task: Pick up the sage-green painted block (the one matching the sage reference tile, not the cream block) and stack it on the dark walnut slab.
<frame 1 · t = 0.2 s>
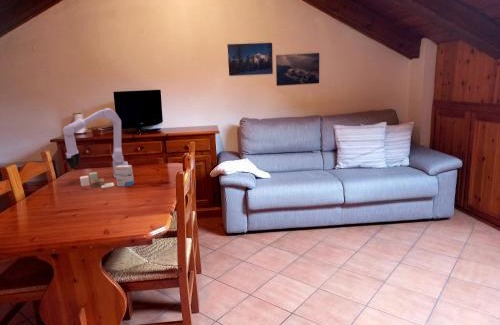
hand: (75, 166, 212), 10 cm above the table, fingers open, 7 cm apart
ink box: (126, 185, 204), on the table
walnut slab: (98, 185, 206), on the table
reference tile: (107, 185, 204), on the table
sage block: (94, 180, 216), on the table
cream block: (85, 184, 209), on the table
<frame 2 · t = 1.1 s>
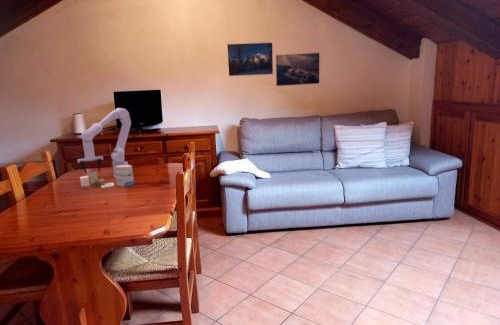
hand: (92, 172, 215), 6 cm above the table, fingers open, 7 cm apart
nothing on the table moved.
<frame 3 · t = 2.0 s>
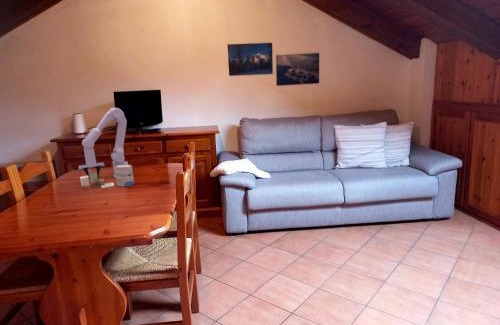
hand: (93, 178, 216), 1 cm above the table, fingers closed on sage block, 4 cm apart
sage block: (94, 180, 216), on the table, touching gripper
everything else where it was.
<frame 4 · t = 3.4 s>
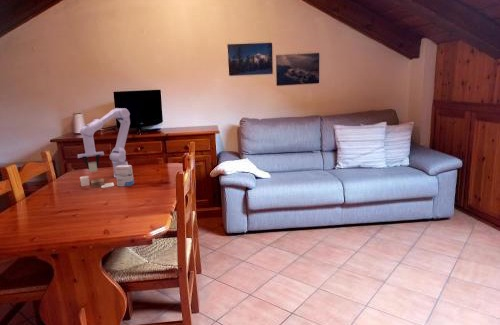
hand: (93, 167, 210), 9 cm above the table, fingers closed on sage block, 4 cm apart
sage block: (93, 170, 210), point 8 cm above the table, touching gripper
everything else where it was.
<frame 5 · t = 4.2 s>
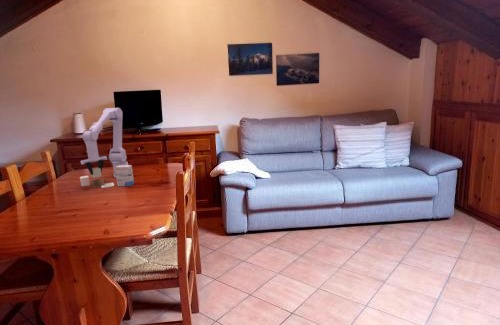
hand: (96, 173, 204), 7 cm above the table, fingers closed on sage block, 4 cm apart
sage block: (96, 176, 205), point 5 cm above the table, touching gripper
everything else where it was.
when the fingers open (6 cm above the table, at t = 4.9 s): sage block stays where it is, resting on walnut slab.
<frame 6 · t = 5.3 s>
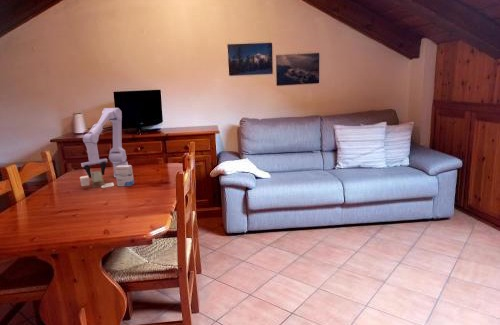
hand: (96, 176, 204), 6 cm above the table, fingers open, 7 cm apart
sage block: (97, 180, 205), point 3 cm above the table, touching walnut slab
everything else where it was.
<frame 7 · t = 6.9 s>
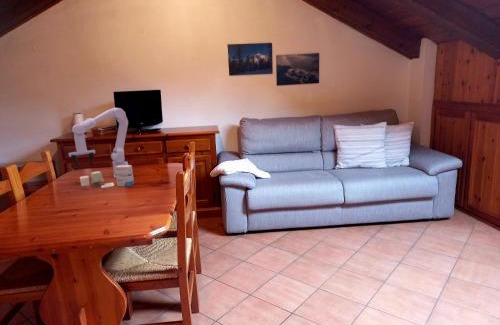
hand: (84, 166, 211), 10 cm above the table, fingers open, 7 cm apart
nothing on the table moved.
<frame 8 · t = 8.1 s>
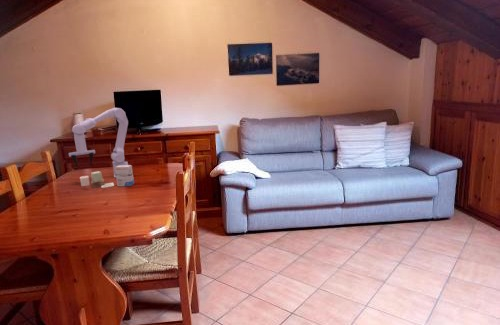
hand: (84, 166, 211), 10 cm above the table, fingers open, 7 cm apart
nothing on the table moved.
at the end: sage block 0.4 cm off-centre on the walnut slab, point 3.0 cm above the walnut slab's base; sage block tilted 0°; cream block moved 0.1 cm from its start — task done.
